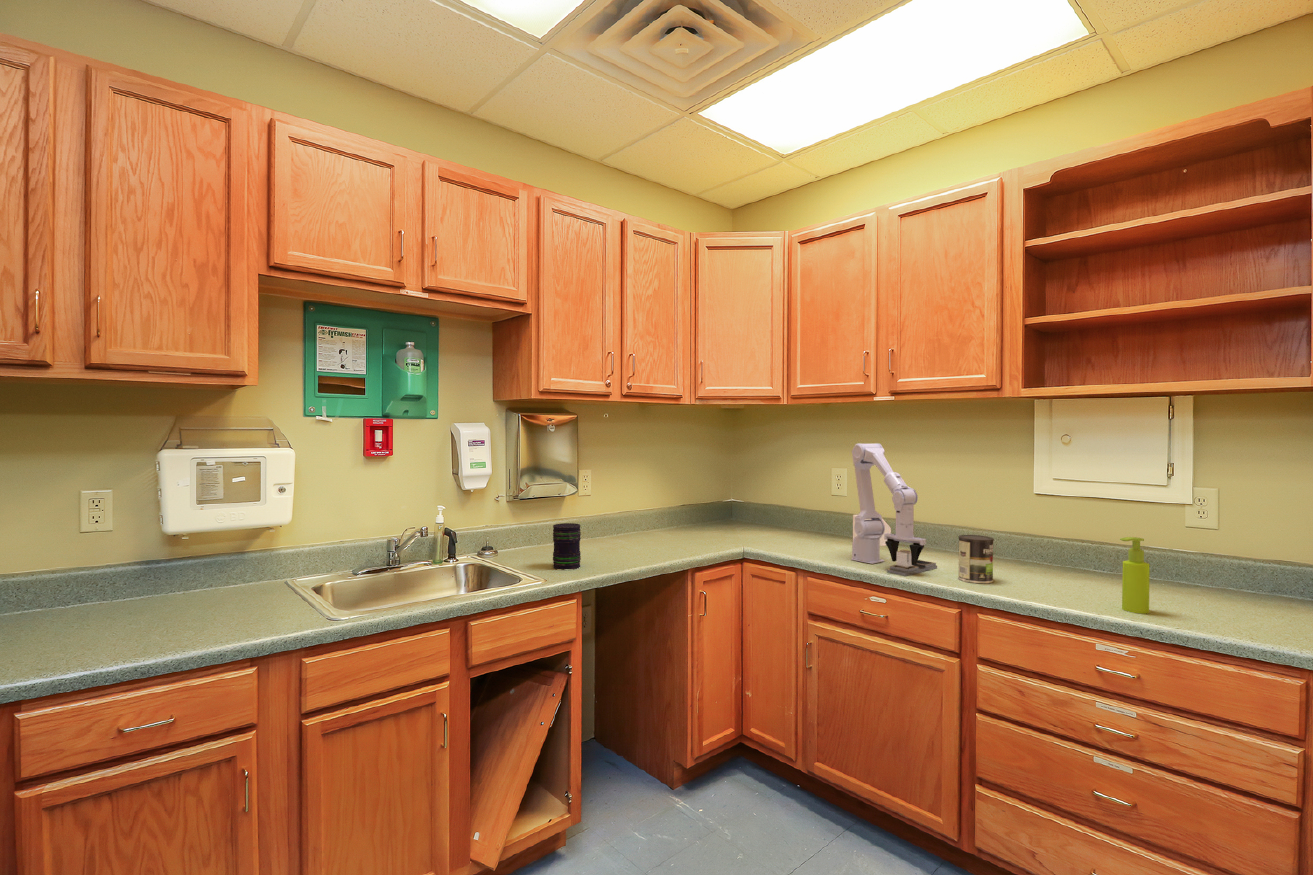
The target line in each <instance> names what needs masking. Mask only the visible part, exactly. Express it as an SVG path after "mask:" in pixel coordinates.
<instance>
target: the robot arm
mask: <svg viewBox="0 0 1313 875" xmlns="http://www.w3.org/2000/svg"><path fill="white" fill-rule="evenodd" d="M885 452H886V451H885V449H884V447H883V445H882V444H881V443H878V442H875V443H860V442H858V443H856V444H854V446H853V448H852V450H851V454H852V463H853V464H852V465H853V466H854V473H855V474H854V475H855V480H856V488H857V495H858V496H857V498H858V502H859V503H858V504H859V511H860V512H859V513H858V514H856V515H857V516H856V517H855V526H854V529H855V532H856V534H857V535H858V536H856V537H855V538H854V539H853V538H852V546H851V548H852V551H851V556H852V557H851V558H850V560H851V561H855V562H862V563H866V564H871V565H872V564H873V565H874V564H877V563H883V562H885V559H882V558H880V555H881V551H880V549H881V546H880V538H881V536H882V535H883V534H884V531H885V525H884V523H883V521H882V519H883V517H882V515H881V514H880V512H877V511H876V505H875V498H874V490H873V484H872V476H871V468H872V467H873V466H876V469H878V470H879V471H880V474H882V475H883V477H884V479H883V482H884V484H885V485H886V487H887V488H888V490H889V491H890V493H891V495H892V496H891V500H892V503H893V509H894V511H895V534H894V533H891V534H888V533H887V534H884V539H886V540H887V541H885V544H886V545H887V546H886V547H887V549H888V551H889V555H890V557H891V558H890V559H891V562H894V563H895V562H897V551H899V550H898V549H899V545H900V542H902V543H907V544H909V550H910V551H911V564H912V565H917V561H918V560H919V557H920V555H921V553H922V551H923V549H924V548H925V545H927V542H926V541H927V540H926V538H921V537H917V536H914V527H915V526H914V525H915V524H914V522H915V520H914V509H915V508H914V507H915V505H916V504H917V503H918V501H919V500H918V493H917V492H916V489H914V488H912V487H910V486H908V485H907V484H906V482H905V480H904V479H903V478H902V476H901V473H899V472H896V471H895V472H894V470H893V468H892V467H891V465H890V464H889V462H888V460H887V458H886V456H885ZM865 519H872V520H865Z"/></svg>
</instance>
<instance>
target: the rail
mask: <svg viewBox="0 0 1313 875" xmlns="http://www.w3.org/2000/svg"><path fill="white" fill-rule="evenodd" d="M936 569H938V565H937V562H934V561H933V562H932V561H928V560H921V559H918V561H917V565H914V568H909V569H904V568H899V567H897V564H894V565H892V564H891V565H889V568H887V569H886V573H888V574H894V575H898V576H903V577H907V576H912V575H915V574H916V575H917V574H920V573H924V572H928V571H929V572H930V571H933V570H936Z"/></svg>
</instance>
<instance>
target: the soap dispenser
mask: <svg viewBox="0 0 1313 875" xmlns="http://www.w3.org/2000/svg"><path fill="white" fill-rule="evenodd" d="M1119 540H1120V541H1123V542H1131V541H1132V542H1131V543H1132V547H1130V548H1129V549H1128V558H1127V560H1123V561H1122V569H1121V570H1122V576H1121V577H1122V581H1121V583H1122V584H1121V585H1122V586H1121V587H1122V588H1121V589H1122V591H1121V593H1122V594H1121V603H1122V604H1121V610H1122V611H1125V612H1128V611H1129V612H1128V613H1132V612H1133V613H1132V614H1141V615H1143V614H1144V615H1145V614H1146V613H1147V614H1149V613H1150V577H1151V576H1150V570H1151V568H1150V566H1151V565H1150V563H1149V562H1146V561H1144V559H1145V551H1144V550H1143V549H1142V548H1141V541H1142V542H1144V541H1145V539H1144V538H1142V537H1137V536H1135V537H1134V536H1126V537H1122V538H1120V539H1119Z"/></svg>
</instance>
